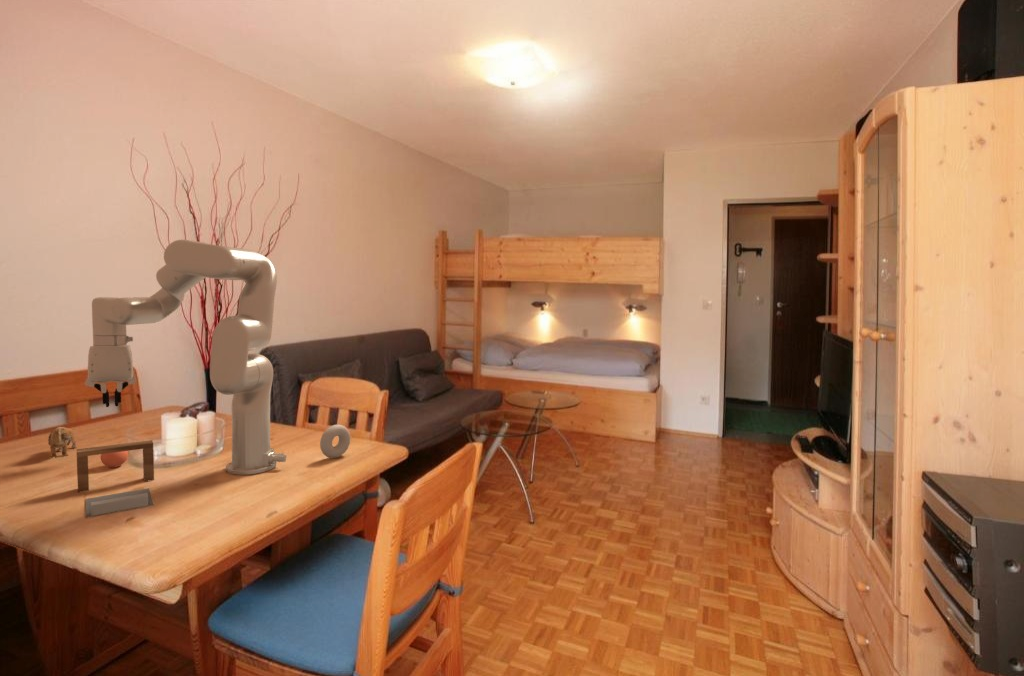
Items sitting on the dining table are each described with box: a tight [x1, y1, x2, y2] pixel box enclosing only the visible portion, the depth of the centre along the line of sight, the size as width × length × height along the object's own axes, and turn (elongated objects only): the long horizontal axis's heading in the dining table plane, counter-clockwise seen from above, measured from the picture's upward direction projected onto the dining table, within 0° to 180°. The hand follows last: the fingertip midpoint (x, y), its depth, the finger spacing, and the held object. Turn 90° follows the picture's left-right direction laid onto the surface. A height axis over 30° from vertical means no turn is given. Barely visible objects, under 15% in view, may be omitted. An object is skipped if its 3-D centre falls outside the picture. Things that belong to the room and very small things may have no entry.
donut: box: [319, 424, 351, 459], centre depth 157 cm, size 10×4×10 cm, turn 146°
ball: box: [100, 451, 129, 468], centre depth 143 cm, size 6×6×6 cm
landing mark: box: [85, 488, 154, 519], centre depth 120 cm, size 12×12×1 cm
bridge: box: [76, 439, 155, 493], centre depth 131 cm, size 3×15×10 cm, turn 128°
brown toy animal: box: [47, 426, 77, 459], centre depth 153 cm, size 15×5×9 cm, turn 34°
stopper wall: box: [91, 493, 149, 517], centre depth 116 cm, size 2×10×2 cm, turn 129°
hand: (112, 405), depth 150 cm, fingers closed
